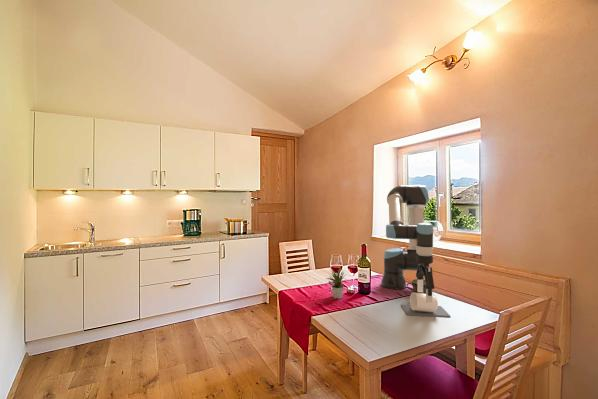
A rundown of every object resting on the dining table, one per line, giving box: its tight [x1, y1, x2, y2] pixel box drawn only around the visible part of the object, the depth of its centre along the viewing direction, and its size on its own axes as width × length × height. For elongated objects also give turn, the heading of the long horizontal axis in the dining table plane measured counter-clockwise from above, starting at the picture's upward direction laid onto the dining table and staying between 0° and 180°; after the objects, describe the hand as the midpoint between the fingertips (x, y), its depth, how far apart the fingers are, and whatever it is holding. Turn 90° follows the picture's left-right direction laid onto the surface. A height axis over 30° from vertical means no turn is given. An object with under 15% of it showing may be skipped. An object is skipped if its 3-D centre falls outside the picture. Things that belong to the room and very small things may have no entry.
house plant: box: [324, 267, 348, 299], centre depth 162 cm, size 14×14×16 cm
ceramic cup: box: [406, 278, 427, 294], centre depth 157 cm, size 13×10×10 cm
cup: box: [409, 292, 439, 312], centre depth 140 cm, size 8×12×10 cm
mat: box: [400, 304, 451, 318], centre depth 141 cm, size 20×12×1 cm, turn 83°
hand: (424, 296), depth 141 cm, fingers open, 13 cm apart
